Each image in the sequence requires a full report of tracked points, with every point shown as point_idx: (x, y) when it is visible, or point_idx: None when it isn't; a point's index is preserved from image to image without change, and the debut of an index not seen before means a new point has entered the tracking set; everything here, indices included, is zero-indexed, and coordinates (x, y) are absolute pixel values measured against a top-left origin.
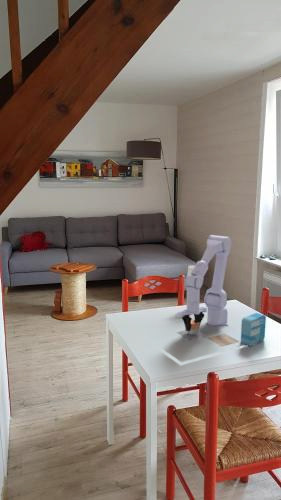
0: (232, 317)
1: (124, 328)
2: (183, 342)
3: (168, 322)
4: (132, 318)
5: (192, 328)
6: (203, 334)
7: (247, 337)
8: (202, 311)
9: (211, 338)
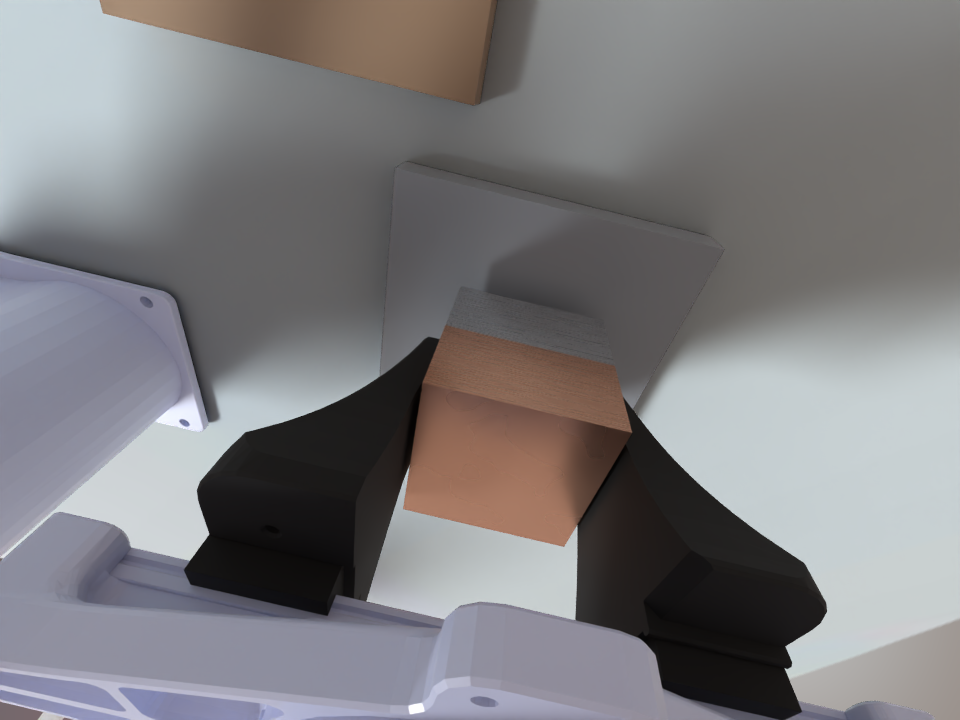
0: None
1: None
2: (752, 294)
3: (440, 576)
4: None
5: (593, 368)
6: (418, 239)
7: None
8: (169, 586)
9: (430, 27)
